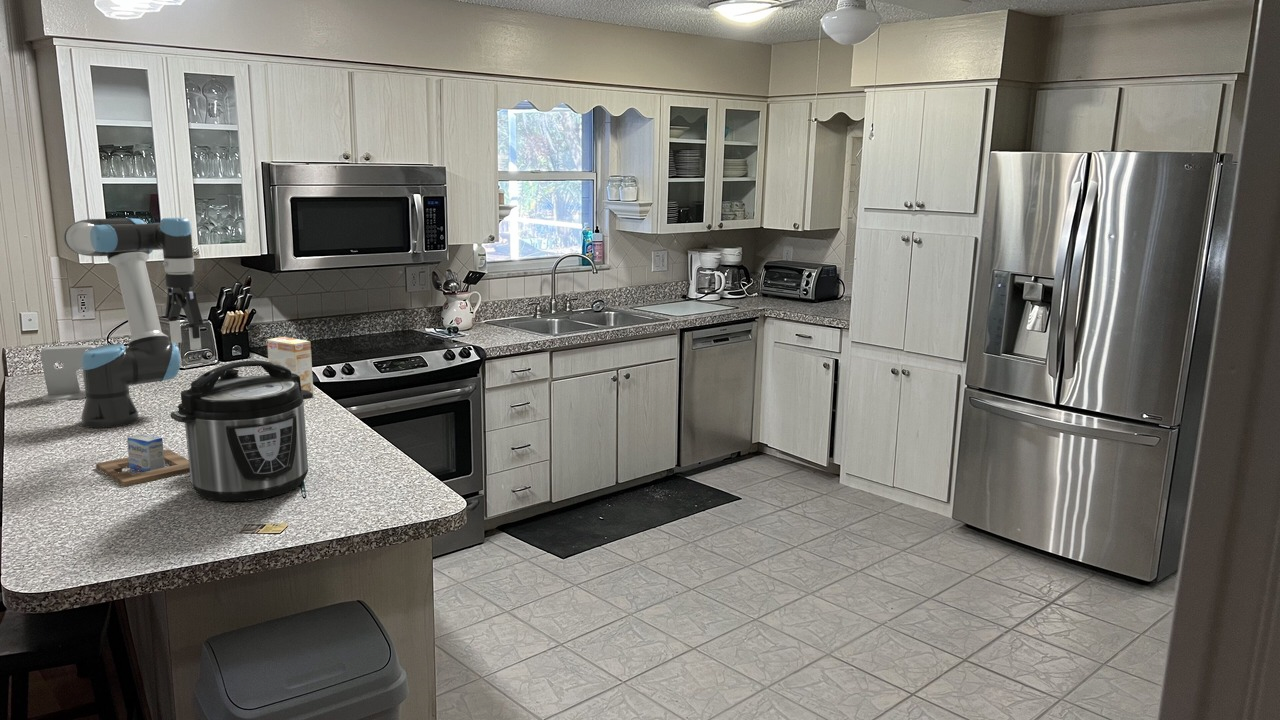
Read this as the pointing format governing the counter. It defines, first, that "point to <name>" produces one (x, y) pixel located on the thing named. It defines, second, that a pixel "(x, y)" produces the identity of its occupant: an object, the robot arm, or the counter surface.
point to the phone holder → (63, 371)
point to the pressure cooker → (245, 432)
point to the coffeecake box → (293, 358)
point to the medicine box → (145, 452)
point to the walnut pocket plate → (126, 478)
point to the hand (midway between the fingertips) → (186, 346)
